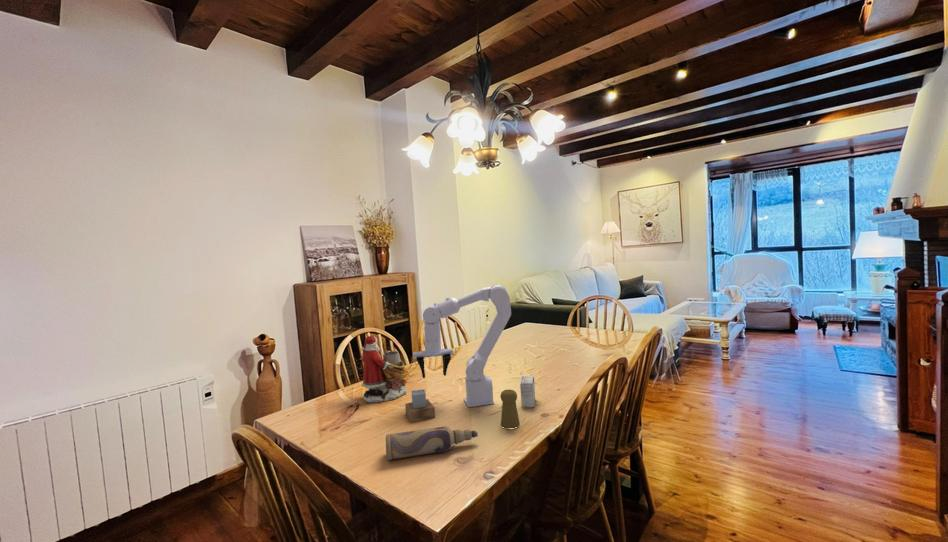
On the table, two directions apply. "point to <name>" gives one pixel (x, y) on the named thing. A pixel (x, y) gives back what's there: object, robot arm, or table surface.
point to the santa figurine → (381, 373)
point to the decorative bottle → (424, 441)
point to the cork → (509, 409)
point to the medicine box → (527, 391)
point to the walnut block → (420, 412)
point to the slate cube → (418, 398)
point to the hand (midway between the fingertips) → (434, 376)
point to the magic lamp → (406, 372)
